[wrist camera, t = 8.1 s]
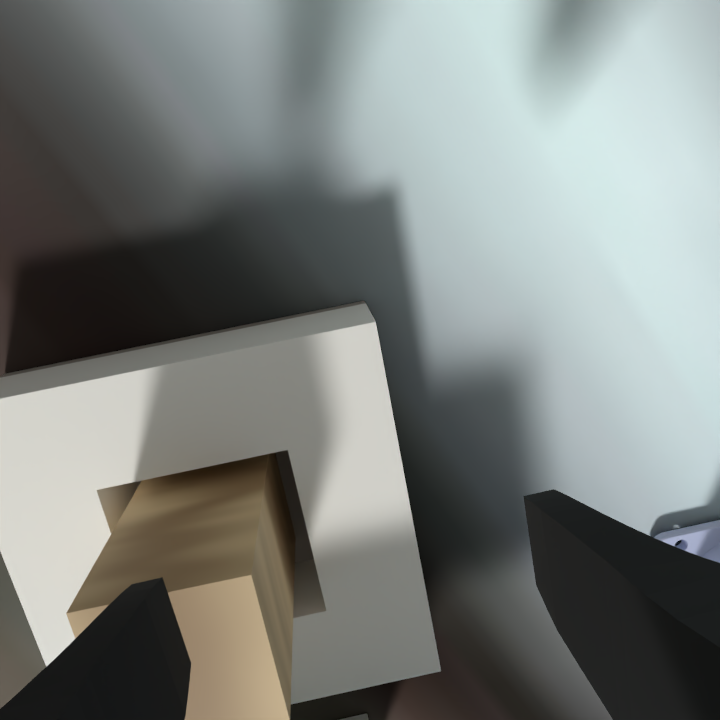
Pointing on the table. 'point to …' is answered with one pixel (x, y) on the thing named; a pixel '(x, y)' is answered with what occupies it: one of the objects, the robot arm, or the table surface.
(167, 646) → the robot arm
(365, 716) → the awning
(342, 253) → the table surface
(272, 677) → the oak peg
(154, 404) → the socket block
